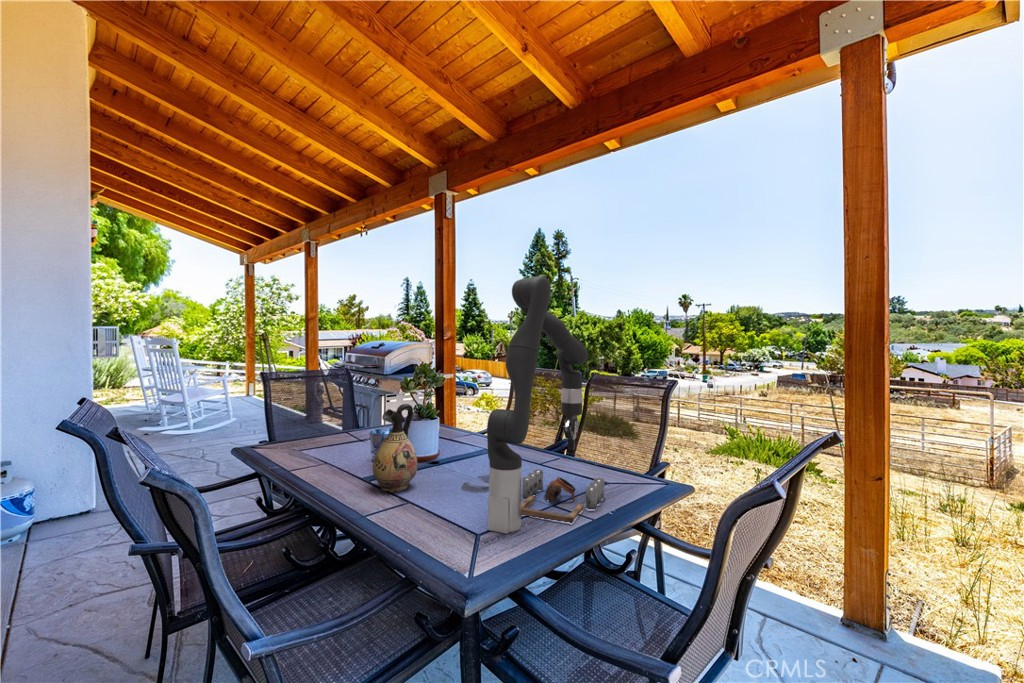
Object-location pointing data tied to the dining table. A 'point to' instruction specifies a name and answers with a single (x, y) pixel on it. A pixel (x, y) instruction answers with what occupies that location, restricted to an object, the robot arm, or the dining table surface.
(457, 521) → the dining table surface
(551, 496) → the pottery mug
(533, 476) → the metal posts
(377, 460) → the ceramic jug
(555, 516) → the walnut frame
